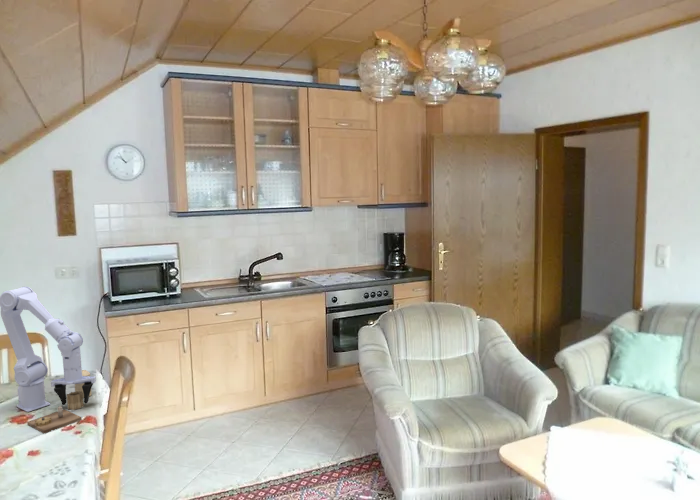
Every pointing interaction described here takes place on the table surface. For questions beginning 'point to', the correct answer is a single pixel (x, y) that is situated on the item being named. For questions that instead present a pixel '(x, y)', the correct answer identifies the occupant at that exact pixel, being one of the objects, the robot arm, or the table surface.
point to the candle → (79, 386)
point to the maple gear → (75, 400)
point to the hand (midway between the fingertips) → (75, 403)
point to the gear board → (54, 420)
